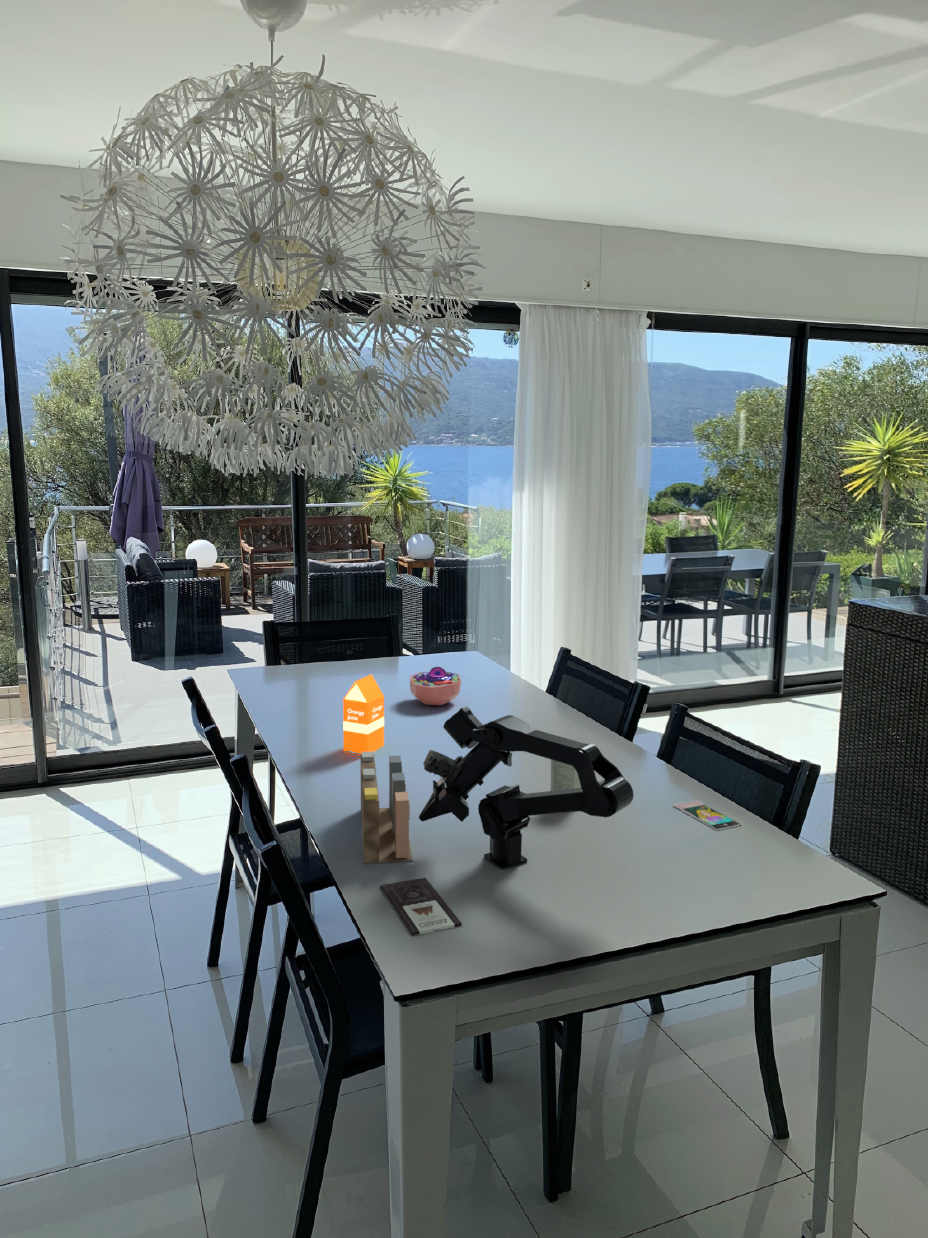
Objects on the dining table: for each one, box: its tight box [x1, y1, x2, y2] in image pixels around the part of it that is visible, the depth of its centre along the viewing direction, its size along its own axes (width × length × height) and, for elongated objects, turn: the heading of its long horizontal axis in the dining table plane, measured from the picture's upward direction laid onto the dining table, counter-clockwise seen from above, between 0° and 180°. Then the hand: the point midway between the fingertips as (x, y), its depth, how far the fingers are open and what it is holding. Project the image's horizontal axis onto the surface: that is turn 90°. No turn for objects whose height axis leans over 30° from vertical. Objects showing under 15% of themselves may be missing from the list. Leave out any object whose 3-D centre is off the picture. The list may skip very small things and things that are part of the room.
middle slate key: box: [392, 772, 407, 835], centre depth 191 cm, size 3×4×12 cm, turn 8°
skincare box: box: [550, 759, 581, 791], centre depth 209 cm, size 6×4×12 cm
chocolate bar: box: [379, 877, 462, 937], centre depth 162 cm, size 9×1×18 cm
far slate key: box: [388, 755, 403, 814], centre depth 202 cm, size 3×4×12 cm, turn 8°
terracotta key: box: [395, 791, 411, 858], centre depth 180 cm, size 3×4×12 cm, turn 8°
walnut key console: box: [359, 751, 413, 864], centre depth 190 cm, size 10×27×14 cm, turn 8°
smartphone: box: [673, 800, 742, 832], centre depth 204 cm, size 7×1×15 cm
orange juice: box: [342, 674, 385, 754], centre depth 244 cm, size 8×9×20 cm
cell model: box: [409, 666, 462, 706], centre depth 290 cm, size 17×20×11 cm
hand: (420, 819), depth 181 cm, fingers closed
